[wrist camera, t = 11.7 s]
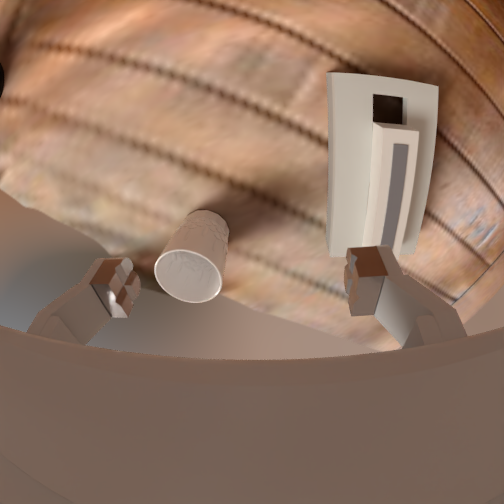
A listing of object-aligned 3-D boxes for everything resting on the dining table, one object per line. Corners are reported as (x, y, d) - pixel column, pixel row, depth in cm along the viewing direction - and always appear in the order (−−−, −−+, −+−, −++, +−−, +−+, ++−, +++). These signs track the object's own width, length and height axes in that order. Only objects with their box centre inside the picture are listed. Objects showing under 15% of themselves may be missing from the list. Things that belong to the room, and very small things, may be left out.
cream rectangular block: (365, 117, 27) (383, 128, 22) (396, 120, 26) (419, 131, 22) (356, 237, 36) (367, 265, 31) (383, 237, 36) (397, 264, 31)
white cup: (230, 204, 36) (216, 249, 28) (236, 253, 41) (226, 304, 33) (173, 206, 37) (146, 249, 29) (184, 253, 42) (164, 301, 34)
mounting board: (326, 72, 25) (333, 72, 22) (421, 83, 24) (438, 86, 21) (325, 238, 38) (330, 257, 35) (403, 237, 37) (414, 254, 33)
